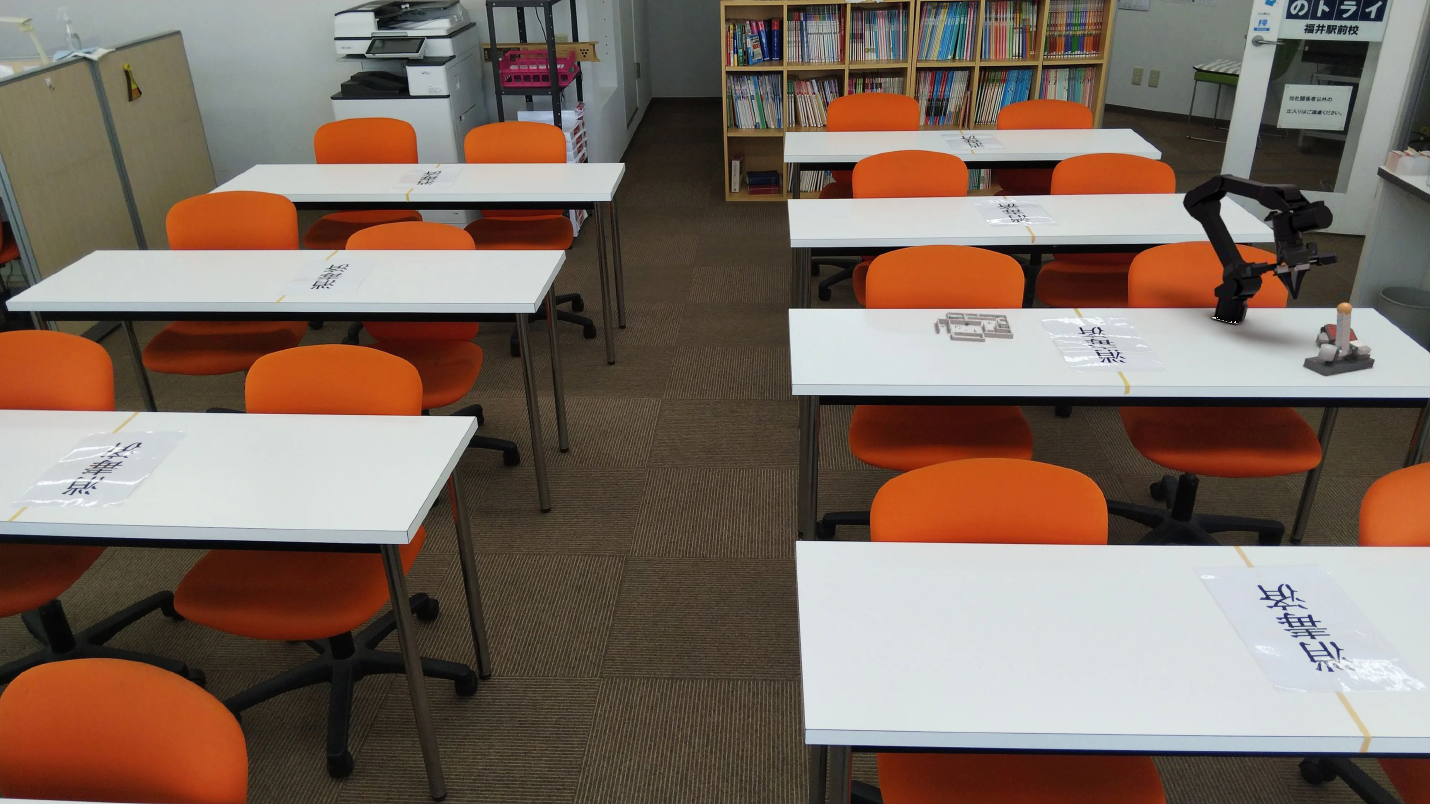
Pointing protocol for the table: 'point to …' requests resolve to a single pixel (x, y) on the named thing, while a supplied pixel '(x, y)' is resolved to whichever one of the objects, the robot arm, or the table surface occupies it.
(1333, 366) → the slide switch base
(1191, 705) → the table surface
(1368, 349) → the white block
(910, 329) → the table surface
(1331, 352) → the push button
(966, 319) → the floor plan model
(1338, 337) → the ball-topped post
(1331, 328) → the walkie-talkie
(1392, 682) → the table surface
